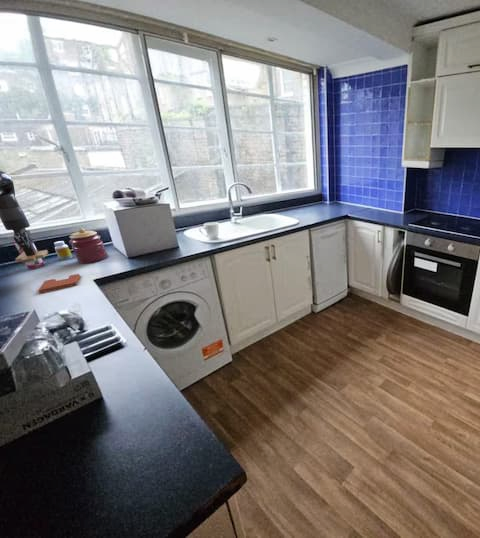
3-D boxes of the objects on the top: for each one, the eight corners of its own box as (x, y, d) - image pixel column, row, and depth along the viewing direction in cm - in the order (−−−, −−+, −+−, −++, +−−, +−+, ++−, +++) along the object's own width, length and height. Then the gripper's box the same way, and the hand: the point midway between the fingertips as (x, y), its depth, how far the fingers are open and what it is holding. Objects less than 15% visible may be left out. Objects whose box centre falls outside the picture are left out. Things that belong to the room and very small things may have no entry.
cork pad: (14, 264, 130) (6, 250, 127) (22, 256, 139) (15, 243, 136) (42, 259, 134) (35, 246, 132) (48, 252, 144) (42, 240, 141)
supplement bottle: (74, 257, 167) (67, 241, 163) (62, 260, 163) (54, 244, 159) (70, 256, 169) (63, 240, 165) (58, 259, 165) (50, 242, 161)
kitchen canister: (92, 264, 156) (78, 232, 149) (71, 263, 158) (57, 231, 151) (114, 255, 168) (102, 225, 161) (95, 254, 170) (82, 225, 163)
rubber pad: (40, 293, 126) (38, 290, 125) (46, 283, 135) (44, 280, 134) (76, 285, 132) (75, 282, 132) (80, 276, 141) (79, 273, 141)
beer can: (32, 269, 151) (16, 240, 145) (25, 268, 153) (9, 239, 147) (47, 265, 157) (33, 236, 150) (40, 264, 159) (25, 235, 152)
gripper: (6, 216, 134) (24, 252, 141) (-5, 222, 123) (15, 260, 130) (29, 214, 138) (46, 248, 145) (20, 219, 127) (39, 256, 134)
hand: (31, 254), depth 137 cm, fingers closed on cork pad, 3 cm apart
